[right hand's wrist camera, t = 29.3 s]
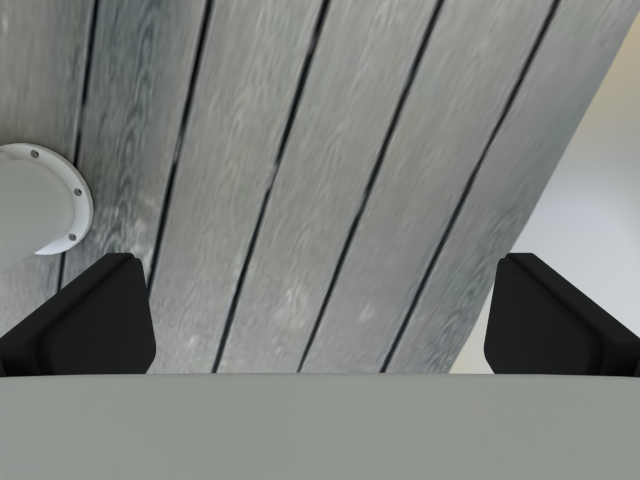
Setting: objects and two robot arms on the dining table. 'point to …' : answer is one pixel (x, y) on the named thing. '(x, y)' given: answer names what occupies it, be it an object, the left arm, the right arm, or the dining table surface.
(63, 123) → the dining table surface
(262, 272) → the dining table surface
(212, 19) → the dining table surface
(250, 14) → the dining table surface
